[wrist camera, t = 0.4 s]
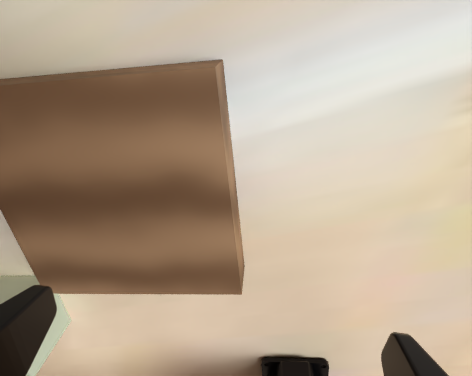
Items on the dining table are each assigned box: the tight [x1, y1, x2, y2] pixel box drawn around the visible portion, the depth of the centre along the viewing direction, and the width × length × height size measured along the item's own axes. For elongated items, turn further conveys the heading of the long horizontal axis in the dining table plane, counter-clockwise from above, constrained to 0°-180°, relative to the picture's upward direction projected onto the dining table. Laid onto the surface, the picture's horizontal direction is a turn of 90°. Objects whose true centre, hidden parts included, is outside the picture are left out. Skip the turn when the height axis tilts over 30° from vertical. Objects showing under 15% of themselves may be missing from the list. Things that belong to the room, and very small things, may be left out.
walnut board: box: [0, 60, 244, 294], centre depth 22 cm, size 16×16×3 cm
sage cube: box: [0, 276, 71, 376], centre depth 28 cm, size 6×6×6 cm
